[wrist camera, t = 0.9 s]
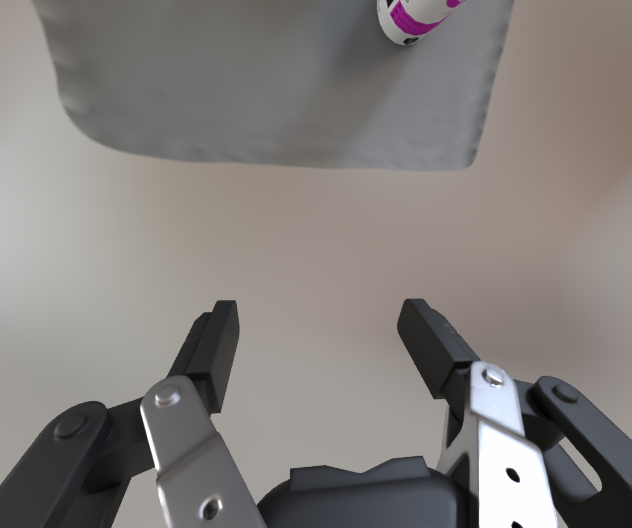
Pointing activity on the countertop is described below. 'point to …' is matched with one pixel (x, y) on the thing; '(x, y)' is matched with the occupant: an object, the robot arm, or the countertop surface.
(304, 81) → the countertop surface
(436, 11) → the supplement can
